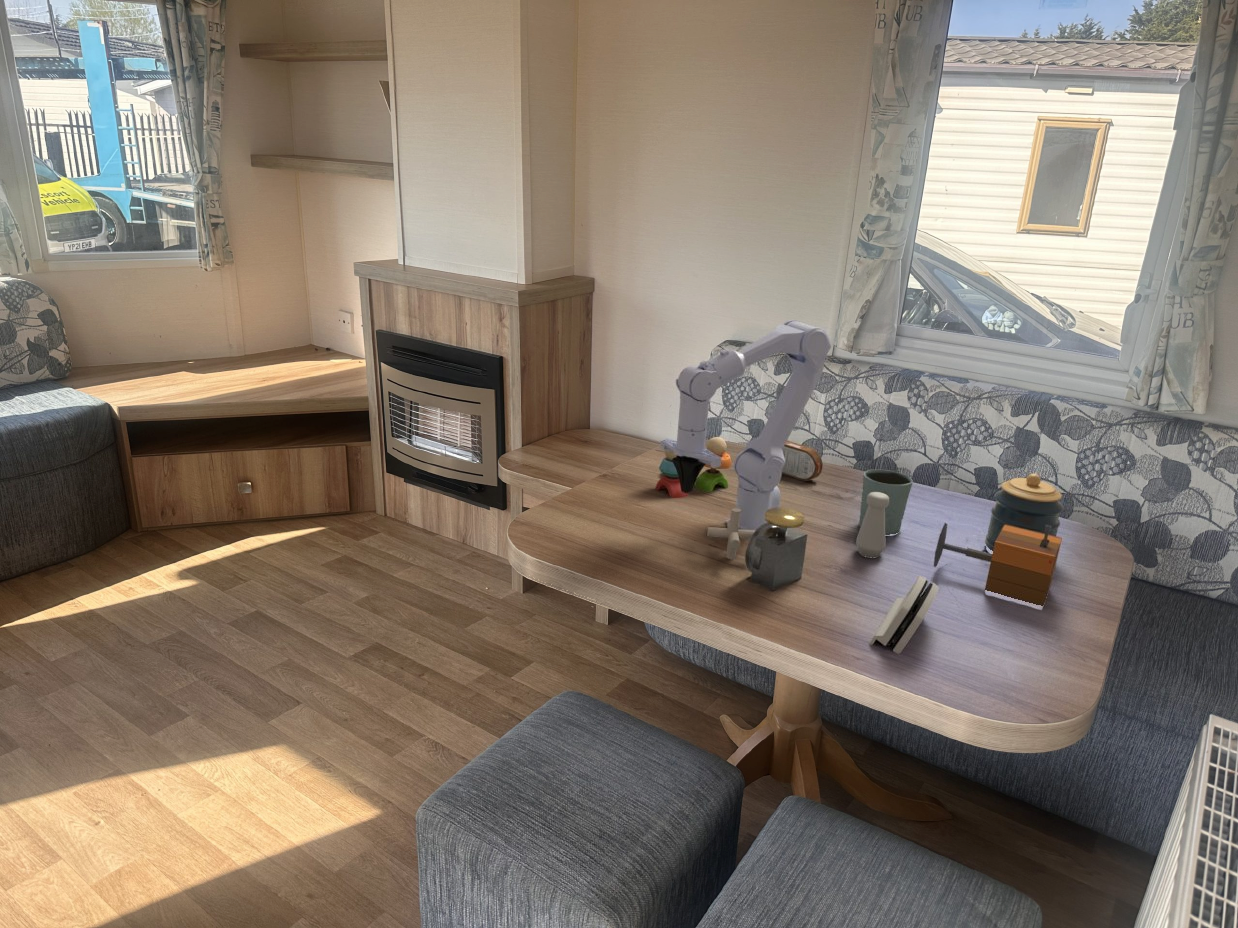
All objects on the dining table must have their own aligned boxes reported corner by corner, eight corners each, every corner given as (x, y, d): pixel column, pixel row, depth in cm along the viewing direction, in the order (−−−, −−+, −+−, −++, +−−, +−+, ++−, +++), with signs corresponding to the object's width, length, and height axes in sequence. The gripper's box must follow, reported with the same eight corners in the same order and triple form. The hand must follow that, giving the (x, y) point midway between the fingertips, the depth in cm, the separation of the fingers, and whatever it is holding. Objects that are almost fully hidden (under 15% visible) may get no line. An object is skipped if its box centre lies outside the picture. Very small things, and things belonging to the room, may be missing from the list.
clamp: (941, 561, 177) (954, 494, 172) (1049, 589, 167) (1066, 520, 162) (929, 580, 168) (942, 510, 163) (1042, 611, 158) (1059, 538, 154)
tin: (820, 483, 217) (825, 450, 214) (814, 485, 215) (818, 453, 212) (770, 466, 226) (773, 435, 224) (763, 469, 224) (766, 437, 221)
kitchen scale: (775, 564, 170) (783, 502, 166) (807, 578, 165) (816, 515, 161) (742, 578, 163) (750, 514, 159) (775, 594, 158) (783, 527, 154)
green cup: (852, 531, 188) (860, 479, 184) (858, 516, 197) (866, 465, 193) (901, 541, 185) (910, 488, 181) (905, 525, 194) (914, 473, 190)
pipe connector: (758, 570, 167) (764, 521, 164) (706, 566, 168) (711, 517, 164) (754, 549, 177) (759, 502, 174) (704, 545, 177) (709, 498, 174)
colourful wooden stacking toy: (684, 468, 221) (689, 420, 217) (735, 489, 209) (741, 439, 205) (631, 481, 210) (634, 431, 206) (681, 504, 198) (686, 451, 194)
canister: (1059, 555, 183) (1079, 476, 177) (1038, 573, 173) (1058, 490, 168) (997, 536, 191) (1013, 459, 185) (973, 552, 182) (990, 472, 176)
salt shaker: (886, 552, 179) (896, 492, 175) (881, 562, 174) (892, 501, 170) (857, 545, 181) (866, 486, 177) (851, 555, 176) (861, 495, 172)
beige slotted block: (892, 604, 157) (920, 561, 153) (916, 619, 156) (945, 577, 151) (868, 644, 143) (898, 599, 139) (894, 661, 142) (926, 616, 137)
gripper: (652, 421, 176) (647, 485, 181) (707, 440, 167) (701, 506, 171) (675, 416, 181) (670, 478, 186) (730, 433, 172) (724, 498, 176)
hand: (686, 491), depth 179 cm, fingers closed
